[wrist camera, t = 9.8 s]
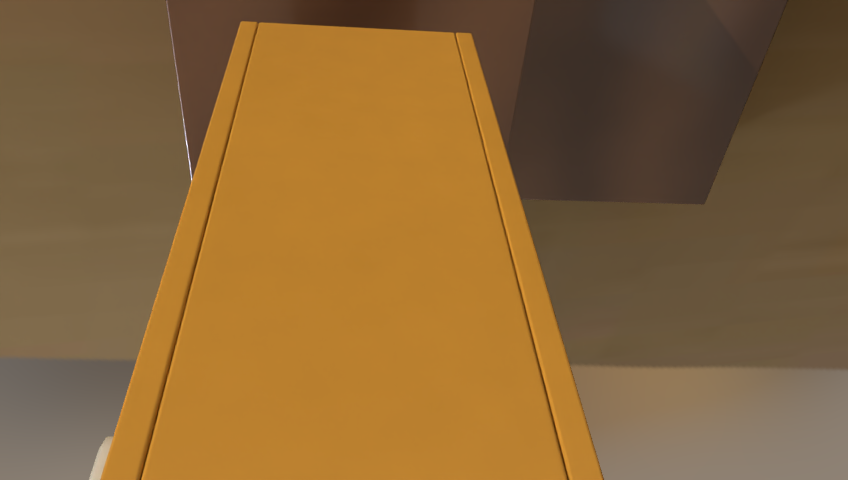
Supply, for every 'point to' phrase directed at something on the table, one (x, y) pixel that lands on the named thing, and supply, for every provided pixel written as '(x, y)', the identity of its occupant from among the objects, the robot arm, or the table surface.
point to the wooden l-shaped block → (548, 80)
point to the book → (352, 281)
